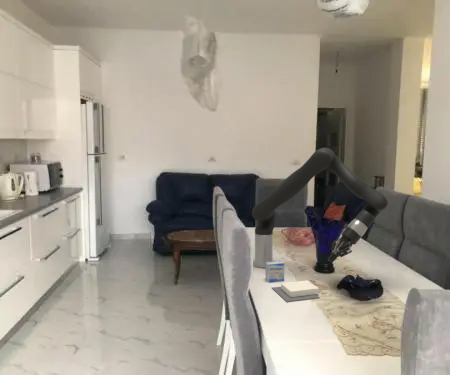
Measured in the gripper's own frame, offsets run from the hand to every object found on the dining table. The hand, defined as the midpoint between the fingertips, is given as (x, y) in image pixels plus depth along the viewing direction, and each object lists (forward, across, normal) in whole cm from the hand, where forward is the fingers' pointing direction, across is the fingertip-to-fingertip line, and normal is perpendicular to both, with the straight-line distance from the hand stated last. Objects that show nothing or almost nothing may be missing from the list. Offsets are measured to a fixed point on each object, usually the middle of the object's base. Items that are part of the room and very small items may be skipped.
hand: (329, 261), depth 182 cm
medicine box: (+23, -16, -5) cm, 28 cm away
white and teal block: (+13, +1, +1) cm, 13 cm away
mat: (+21, +1, -4) cm, 21 cm away
